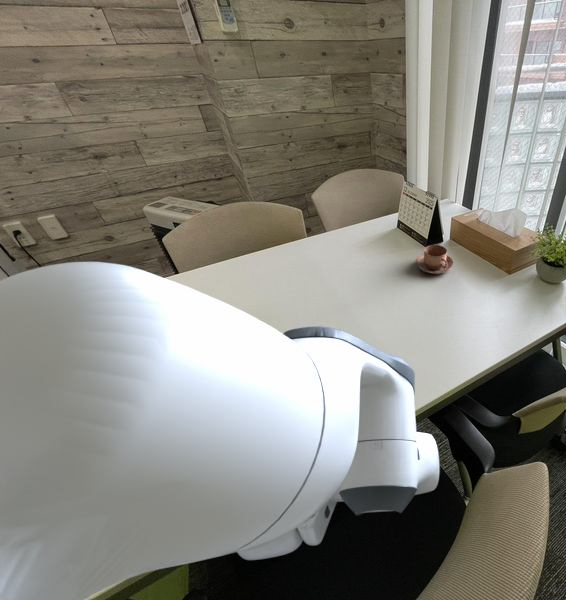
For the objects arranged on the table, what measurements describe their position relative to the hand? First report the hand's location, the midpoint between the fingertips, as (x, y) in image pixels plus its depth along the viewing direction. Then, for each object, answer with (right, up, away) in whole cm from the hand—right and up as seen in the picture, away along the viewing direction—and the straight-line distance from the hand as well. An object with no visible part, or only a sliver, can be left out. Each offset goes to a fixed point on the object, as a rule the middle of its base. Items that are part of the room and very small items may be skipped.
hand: (226, 471), depth 46 cm
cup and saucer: (+36, +35, +62) cm, 80 cm away
